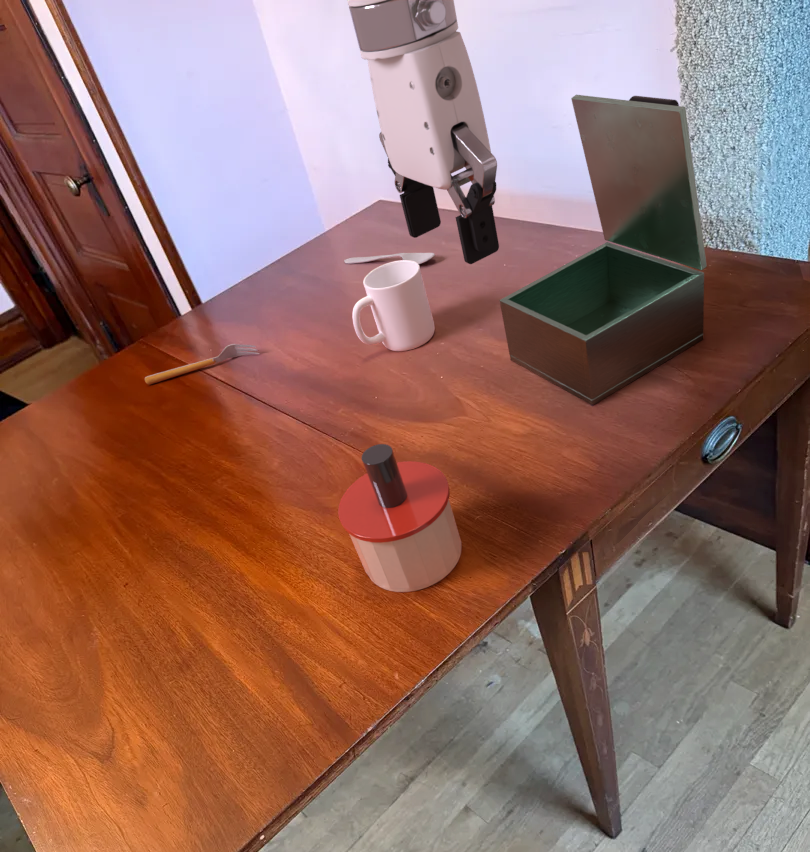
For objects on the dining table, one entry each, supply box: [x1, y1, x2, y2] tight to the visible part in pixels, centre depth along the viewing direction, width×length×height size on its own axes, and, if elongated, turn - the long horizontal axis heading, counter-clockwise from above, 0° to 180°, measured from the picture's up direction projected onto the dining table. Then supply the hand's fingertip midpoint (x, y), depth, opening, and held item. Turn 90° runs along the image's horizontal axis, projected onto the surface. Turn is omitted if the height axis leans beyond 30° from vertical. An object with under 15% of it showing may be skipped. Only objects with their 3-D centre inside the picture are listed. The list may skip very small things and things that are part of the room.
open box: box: [499, 241, 705, 406], centre depth 94 cm, size 18×17×9 cm
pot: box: [348, 499, 463, 593], centre depth 76 cm, size 10×10×8 cm
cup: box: [351, 259, 436, 352], centre depth 109 cm, size 8×12×10 cm
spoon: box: [343, 252, 436, 265], centre depth 134 cm, size 4×21×2 cm, turn 56°
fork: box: [144, 343, 261, 385], centre depth 122 cm, size 2×2×20 cm
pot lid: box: [337, 443, 451, 543], centre depth 72 cm, size 11×11×7 cm
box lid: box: [570, 94, 707, 271], centre depth 86 cm, size 18×17×5 cm
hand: (452, 243), depth 67 cm, fingers open, 9 cm apart
